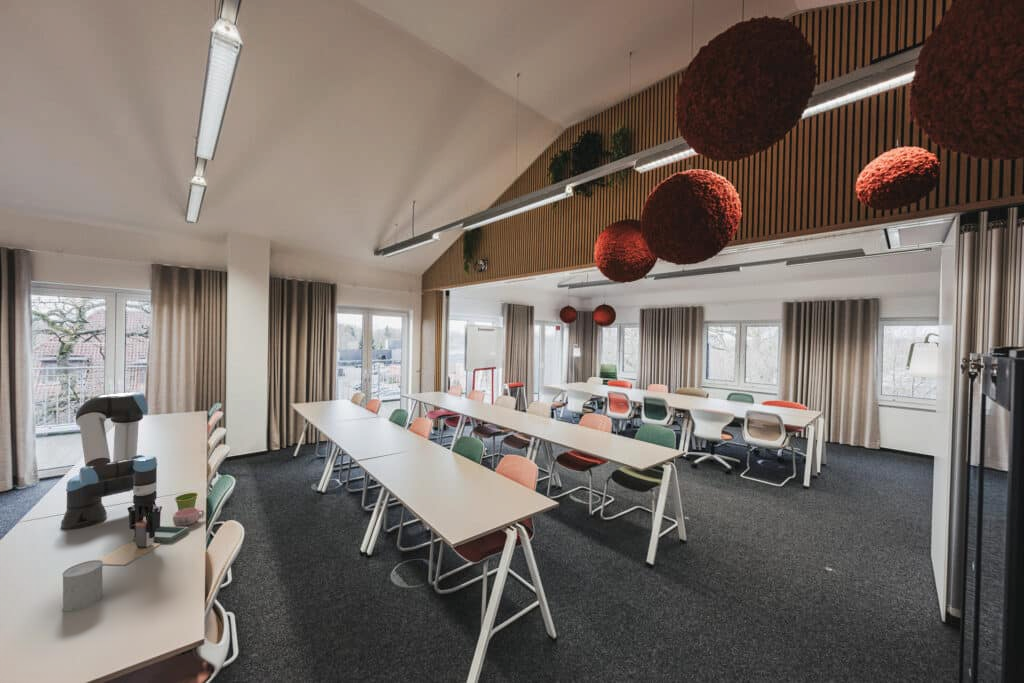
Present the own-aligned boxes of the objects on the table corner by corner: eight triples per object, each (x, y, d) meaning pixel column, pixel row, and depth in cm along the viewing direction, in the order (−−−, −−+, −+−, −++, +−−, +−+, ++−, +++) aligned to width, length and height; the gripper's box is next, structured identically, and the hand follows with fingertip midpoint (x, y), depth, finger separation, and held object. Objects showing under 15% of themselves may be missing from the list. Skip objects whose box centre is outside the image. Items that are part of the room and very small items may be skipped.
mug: (172, 530, 185) (172, 518, 184) (173, 522, 192) (173, 510, 192) (204, 523, 192) (204, 511, 192) (203, 515, 200) (203, 504, 200)
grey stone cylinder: (82, 593, 141) (82, 560, 140) (110, 592, 142) (110, 559, 141) (53, 612, 131) (53, 577, 131) (84, 611, 132) (84, 576, 132)
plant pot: (184, 518, 197) (184, 501, 197) (169, 515, 199) (169, 499, 199) (202, 509, 206) (202, 493, 206) (188, 507, 208) (188, 491, 208)
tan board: (91, 564, 157) (91, 563, 157) (130, 542, 173) (130, 541, 173) (124, 565, 157) (124, 564, 157) (161, 544, 173) (161, 543, 173)
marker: (135, 548, 168) (135, 523, 168) (144, 543, 172) (144, 518, 172) (144, 548, 168) (144, 523, 168) (153, 543, 172) (153, 518, 172)
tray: (133, 541, 175) (133, 535, 175) (152, 530, 184) (153, 525, 184) (170, 542, 175) (170, 537, 174) (188, 532, 184) (188, 527, 184)
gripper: (117, 495, 166) (116, 548, 167) (156, 497, 166) (155, 550, 166) (134, 488, 174) (134, 539, 174) (171, 489, 173) (171, 540, 174)
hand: (144, 544), depth 170 cm, fingers closed on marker, 4 cm apart
